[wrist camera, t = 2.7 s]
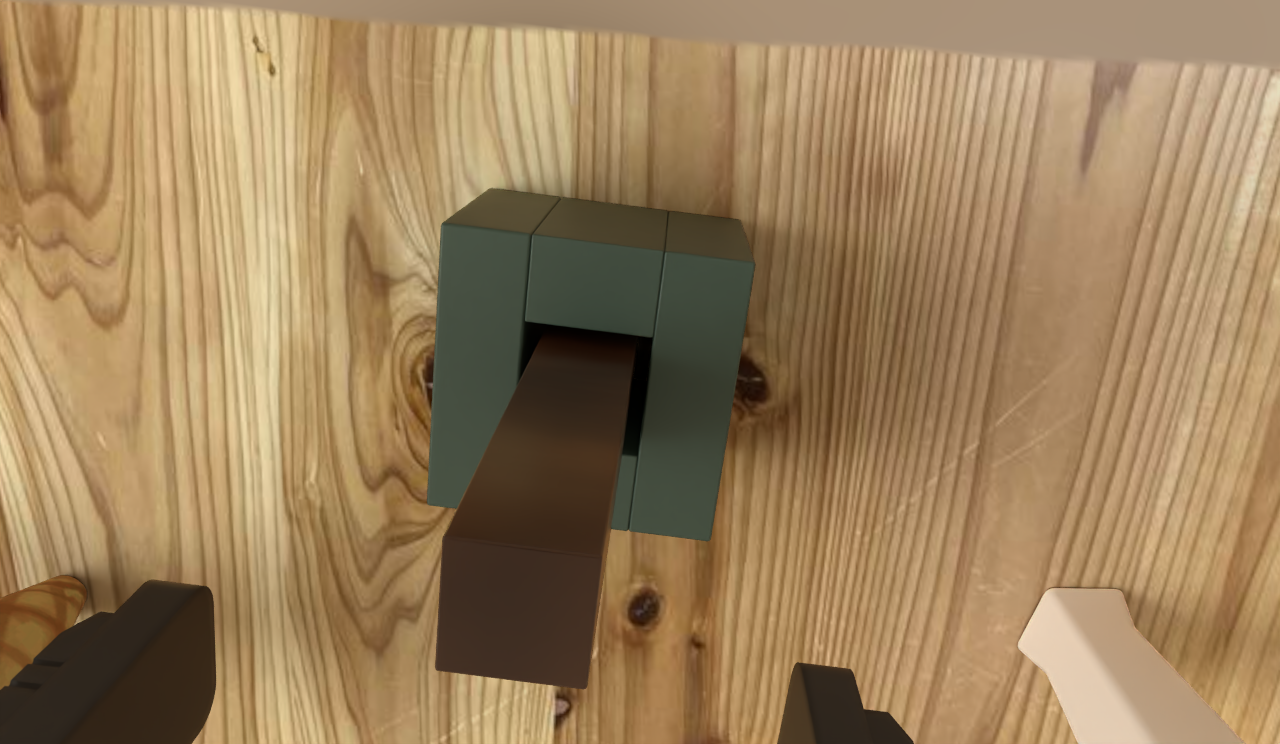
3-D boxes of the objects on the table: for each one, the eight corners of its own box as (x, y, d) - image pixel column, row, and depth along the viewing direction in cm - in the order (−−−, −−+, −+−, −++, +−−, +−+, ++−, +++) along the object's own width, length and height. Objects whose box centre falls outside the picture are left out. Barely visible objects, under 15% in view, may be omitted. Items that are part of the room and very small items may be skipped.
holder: (741, 219, 28) (756, 262, 23) (705, 451, 31) (710, 542, 25) (488, 187, 28) (440, 222, 23) (473, 421, 31) (426, 506, 25)
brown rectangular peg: (644, 292, 29) (602, 556, 14) (635, 365, 30) (586, 691, 15) (567, 282, 29) (441, 535, 14) (560, 356, 30) (433, 671, 15)
